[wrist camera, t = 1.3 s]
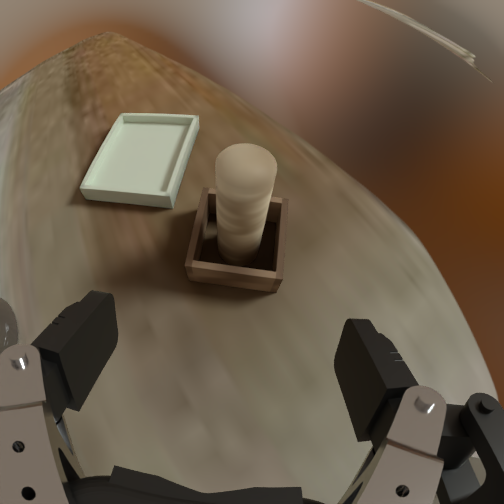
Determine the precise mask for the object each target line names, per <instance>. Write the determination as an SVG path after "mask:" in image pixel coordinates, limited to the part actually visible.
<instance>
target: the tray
mask: <svg viewBox="0 0 504 504" xmlns="http://www.w3.org/2000/svg"><path fill="white" fill-rule="evenodd" d="M198 130H199V116H194V115H177V114H151V113H121V114H120V115H119V117H118V119H117V120H116V122H115V124H114V125H113V127H112V128H111V130H110V132H109V134H108V135H107V137H106V139H105V140H104V142H103V144H102V146H101V147H100V149H99V151H98V153H97V155H96V157H95V158H94V160H93V162H92V164H91V166H90V168H89V170H88V172H87V174H86V176H85V178H84V180H83V182H82V184H81V186H80V190H81V192H82V194H83V195H84V197H85V199H86V200H97V201H107V202H117V203H127V204H136V205H145V206H154V207H163V208H171V209H173V206H174V203H175V200H176V196H177V193H178V190H179V187H180V184H181V180H182V177H183V174H184V171H185V168H186V165H187V162H188V159H189V156H190V153H191V150H192V147H193V145H194V142H195V139H196V136H197V133H198Z"/></svg>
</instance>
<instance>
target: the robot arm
mask: <svg viewBox="0 0 504 504" xmlns="http://www.w3.org/2000/svg"><path fill="white" fill-rule="evenodd" d="M17 340H18V330H17V323H16V319H15V316H14V313H13V311H12V309H11V307H10V306H9V304H8V303H7V302H6V301H4V300H3V299H2V298H0V504H324V503H321V502H319V501H315V500H311V499H307V498H302V490H301V487H280V488H268V487H253V488H247V489H241V490H234V491H227V492H218V493H201V492H198V491H195V490H192V489H189V488H187V487H184V486H181V485H179V484H176V483H174V482H171V481H169V480H166V479H164V478H162V477H159V476H156V475H151V474H147V473H142V472H138V471H134V470H130V469H126V468H122V467H119V466H115V465H114V468H113V471H112V474H111V476H92V477H85V475H84V473H83V471H82V469H81V467H80V464H79V462H78V459H77V456H76V453H75V450H74V447H73V444H72V441H71V438H70V435H69V431H68V428H67V424H66V421H65V418H64V415H63V412H64V411H65V409H66V407H67V408H69V409H72V410H75V411H78V412H79V411H80V409H81V407H82V405H83V403H84V402H85V400H86V398H87V396H88V394H89V393H90V391H91V389H92V387H93V385H94V384H95V382H96V380H97V378H98V377H99V375H100V373H101V372H102V370H103V368H104V366H105V365H106V363H107V361H108V360H109V358H110V356H111V354H112V353H113V351H114V349H115V348H116V345H117V341H118V328H117V320H116V311H115V302H114V297H113V295H112V294H111V293H105V292H99V291H93V290H92V291H90V292H89V293H88V294H87V295H86V296H85V297H84V298H83V299H82V300H81V301H80V302H76V303H74V304H72V305H70V306H68V307H66V308H65V309H64V310H63V311H62V312H61V313H60V314H59V315H58V317H56V318H55V319H54V320H53V321H52V324H51V323H50V324H49V325H48V327H47V328H46V329H45V330H44V331H43V332H42V333H41V334H40V335H39V336H38V337H37V338H36V339H35V340H34V341H33V343H32V344H31V345H29V344H17ZM334 369H335V373H336V376H337V379H338V382H339V385H340V388H341V391H342V394H343V397H344V400H345V403H346V406H347V409H348V412H349V415H350V419H351V422H352V425H353V428H354V431H355V434H356V437H357V441H358V442H362V441H370V440H371V442H372V445H373V446H372V448H371V449H370V451H369V452H368V454H367V456H366V458H365V460H364V462H363V463H362V465H361V467H360V469H359V471H358V472H357V474H356V476H355V478H354V479H353V481H352V483H351V484H350V486H349V488H348V489H347V491H346V492H345V494H344V495H343V497H342V498H341V499H340V501H339V502H338V503H337V504H432V503H433V500H434V497H435V494H437V497H438V500H439V503H440V504H504V410H503V409H502V407H501V405H500V404H499V402H498V401H497V400H496V399H495V398H493V397H492V396H490V395H488V394H485V393H475V394H473V395H471V396H470V398H469V399H468V401H467V402H466V404H465V405H464V406H463V405H452V404H446V402H445V400H444V398H443V397H442V395H441V394H439V393H438V392H437V391H435V390H434V389H432V388H429V387H426V386H419V384H418V383H417V381H416V380H415V378H414V376H413V375H412V373H411V371H410V370H409V368H408V367H407V365H406V363H405V362H404V361H402V357H401V355H400V354H399V353H398V351H397V349H396V348H395V346H394V345H393V343H392V342H391V341H390V340H389V339H388V338H386V337H385V336H384V335H383V334H381V333H378V332H377V331H376V329H375V327H374V326H373V324H372V323H371V321H370V320H369V319H347V320H346V322H345V325H344V328H343V331H342V335H341V338H340V341H339V344H338V348H337V351H336V354H335V359H334ZM475 451H476V452H477V454H478V456H479V458H480V460H481V462H482V464H483V466H484V468H485V471H486V478H485V481H484V483H483V484H482V486H480V484H479V481H478V479H477V477H476V474H475V472H474V470H473V468H472V466H471V463H470V461H469V458H470V457H471V456H472V454H473V453H474V452H475Z"/></svg>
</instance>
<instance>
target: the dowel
mask: <svg viewBox="0 0 504 504" xmlns="http://www.w3.org/2000/svg"><path fill="white" fill-rule="evenodd" d="M215 170H216V210H217V239H218V252H219V255H220V257H221V258H222V260H223V261H225V262H226V263H227V264H229V265H232V266H245V265H248V264H250V263H251V262H252V261H254V259H255V258H256V257H257V254H258V251H259V247H260V242H261V238H262V234H263V229H264V225H265V220H266V216H267V212H268V207H269V203H270V199H271V194H272V190H273V185H274V181H275V177H276V172H277V163H276V160H275V158H274V157H273V155H272V154H271V153H270V152H269V151H267V150H266V149H264V148H262V147H260V146H257V145H254V144H236V145H232V146H230V147H227V148H226V149H224V150H223V151H222V152H221V153H220V154H219V155H218V157H217V159H216V163H215Z"/></svg>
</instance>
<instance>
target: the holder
mask: <svg viewBox="0 0 504 504" xmlns="http://www.w3.org/2000/svg"><path fill="white" fill-rule="evenodd" d="M209 213H212V214H217V210H216V189H212V188H204V187H203V190H202V194H201V198H200V202H199V206H198V210H197V214H196V218H195V222H194V226H193V231H192V235H191V239H190V243H189V248H188V252H187V257H186V261H185V269H186V272H187V276H188V279H189V281H196V282H202V283H209V284H216V285H223V286H230V287H237V288H244V289H252V290H259V291H267V292H274V293H276V292H277V290H278V288H279V286H280V284H281V282H282V280H283V271H284V257H285V244H286V229H287V214H288V199H285V198H278V197H271V199H270V203H269V207H268V212H267V216H266V220H265V221H270V222H276V232H275V243H274V254H273V265H272V271H266V270H259V269H252V268H244V267H237V266H230V265H223V264H216V263H209V262H202V261H199V260H200V255H201V250H202V246H203V241H204V236H205V232H206V227H207V222H208V218H209Z"/></svg>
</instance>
